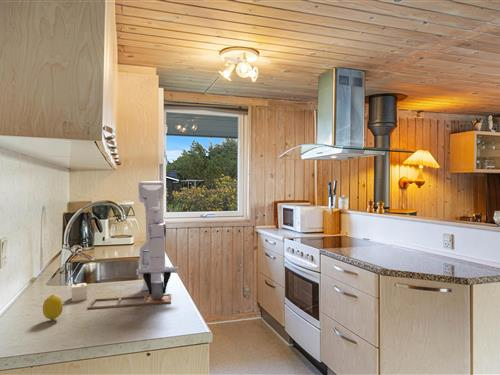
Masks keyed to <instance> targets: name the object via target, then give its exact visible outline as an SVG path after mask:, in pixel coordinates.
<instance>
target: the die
mask: <svg viewBox="0 0 500 375" xmlns="http://www.w3.org/2000/svg"><path fill="white" fill-rule="evenodd" d="M87 286H88V285H87V282H81V283H80V282H79V283H73V284H71V302H76V301H77V302H78V301H85V300H87V299H88V295H87V294H88V293H87V292H88V288H87Z"/></svg>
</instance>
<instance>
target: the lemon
mask: <svg viewBox="0 0 500 375" xmlns="http://www.w3.org/2000/svg"><path fill="white" fill-rule="evenodd" d="M63 307H64V305H63V301H62V299H61V297H59V296H58V295H54V294H51V295H50V296H48V297H47V298H46V299H45V300H44V302H43V305H42V313H43V316H44V318H46V319H47V320H48V319H49V320H51V321H55V320H56V319H57V318H58V317H60V315H61V314H62V312H63V309H64V308H63Z"/></svg>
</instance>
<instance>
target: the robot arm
mask: <svg viewBox="0 0 500 375" xmlns="http://www.w3.org/2000/svg"><path fill="white" fill-rule="evenodd" d="M164 186H165V185H164V181H163V180H153V181H151V180H150V181H149V180H147V181H146V180H145V181H144V180H139V182H138V187H137V188H138V199H139V202H140V203H142V204H143V205H144V208H145V209H144V210H145V236H146V237H145V238H146V239H145V240H146V242H144V243H143V244H142V245H140V248H139V256H138V258H139V265H140V266H141V268H136V270H135V273H136V276H141V275H143V277H142V279H143V284H142V288H141V291H148V295H151V282H154V281H162V274H163V283H164V289H163V294H167V293H166V290H167V286H168V284H169V280H170V279H171V274H173V273H174V274H177V273H178V266H166V238H167V226H166V222H165V220H164V217H163V211H162V209H161V208H159V206H160V205H159V203H160V202H162V199H163V197H164V196H163V195H164V190H165V188H164Z"/></svg>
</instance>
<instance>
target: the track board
mask: <svg viewBox="0 0 500 375" xmlns="http://www.w3.org/2000/svg"><path fill="white" fill-rule="evenodd" d="M133 299H135V300H136V299H143V300H142V302H139V303H126V304H125V303H124V304H121V302H122V300H133ZM101 301H102V302H103V301H117V302H116V303H115V304H110V305H109V304H108V305H96V306H94V304H95V303H96V302H101ZM171 303H172V293H165V294H164V297H163V298H161V299H152V298H151V295H149V294H147V295H134V296H133V295H132V296H119V297H118V296H116V297H101V298H94V299H92V301H91V302H90V303H89V305H88V306H87V310H95V309H99V310H100V309H110V308H111V309H112V308H113V309H114V308H125V307H140V306H151V305H152V306H153V305H154V306H155V305H156V306H157V305H169V304H171Z"/></svg>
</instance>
